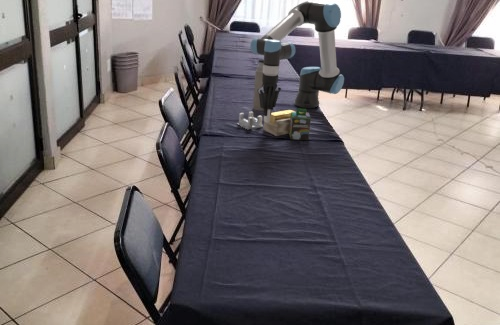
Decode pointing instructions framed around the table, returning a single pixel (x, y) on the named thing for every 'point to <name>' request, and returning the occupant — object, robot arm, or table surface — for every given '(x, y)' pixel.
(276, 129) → the beige channeled block
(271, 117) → the wooden block
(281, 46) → the robot arm
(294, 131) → the chalk box
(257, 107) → the thermos bottle
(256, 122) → the stand
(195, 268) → the table surface
